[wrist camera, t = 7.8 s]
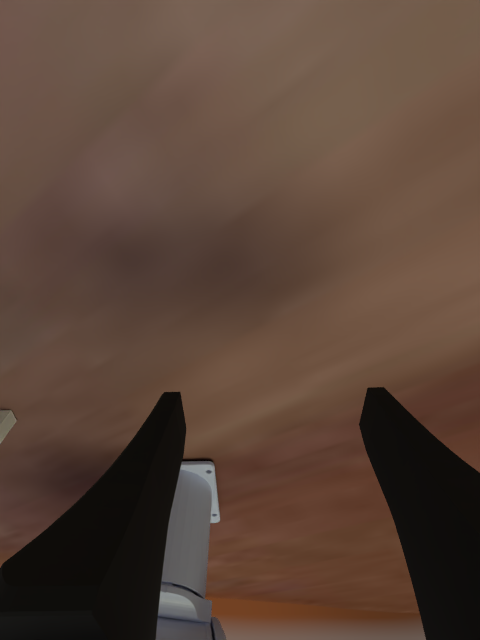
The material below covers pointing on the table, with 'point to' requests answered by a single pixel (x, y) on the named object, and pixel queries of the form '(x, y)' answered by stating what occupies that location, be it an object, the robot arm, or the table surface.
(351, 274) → the table surface
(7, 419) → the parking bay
